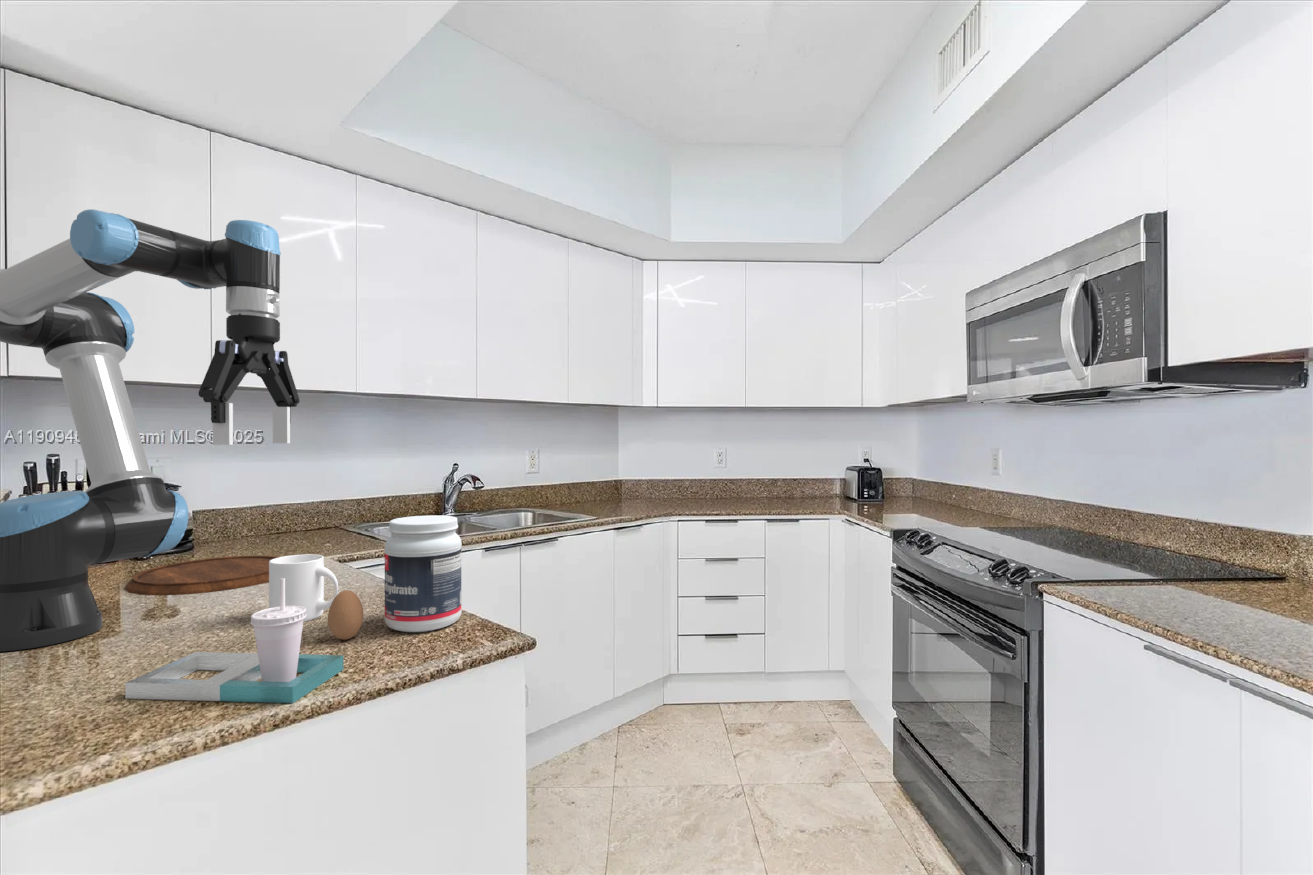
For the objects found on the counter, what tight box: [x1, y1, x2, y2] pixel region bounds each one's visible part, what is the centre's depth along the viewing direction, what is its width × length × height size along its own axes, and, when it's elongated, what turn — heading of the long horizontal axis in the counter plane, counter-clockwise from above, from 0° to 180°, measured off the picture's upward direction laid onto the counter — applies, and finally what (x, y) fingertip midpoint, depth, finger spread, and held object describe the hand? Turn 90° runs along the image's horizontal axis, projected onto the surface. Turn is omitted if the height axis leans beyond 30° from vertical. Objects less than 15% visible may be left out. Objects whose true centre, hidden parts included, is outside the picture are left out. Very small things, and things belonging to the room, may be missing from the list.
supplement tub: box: [383, 514, 463, 633], centre depth 108 cm, size 13×13×18 cm
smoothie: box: [250, 578, 307, 682], centre depth 82 cm, size 6×6×14 cm
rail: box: [124, 651, 345, 704], centre depth 82 cm, size 22×11×2 cm, turn 86°
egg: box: [327, 589, 364, 641], centre depth 100 cm, size 5×5×8 cm
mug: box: [268, 553, 339, 623], centre depth 112 cm, size 9×12×11 cm
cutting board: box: [125, 555, 280, 596], centre depth 143 cm, size 32×32×3 cm
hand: (254, 444), depth 103 cm, fingers open, 13 cm apart
